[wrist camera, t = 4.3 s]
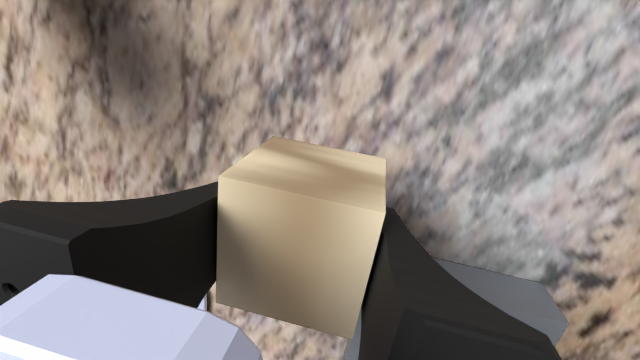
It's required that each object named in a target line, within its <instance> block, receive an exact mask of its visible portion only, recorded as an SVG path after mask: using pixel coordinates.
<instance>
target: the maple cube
mask: <svg viewBox="0 0 640 360" xmlns="http://www.w3.org/2000/svg"><path fill="white" fill-rule="evenodd" d="M385 214H386V159H385V158H380V157H375V156H370V155H365V154H360V153H355V152H350V151H345V150H340V149H335V148H330V147H325V146H320V145H315V144H311V143H306V142H301V141H296V140H291V139H286V138H281V137H276V136H273V137H271V138H270V139H269V140H267V141H266V142H264V143H263V144H262V145H260V146H259V147H258V148H256V149H255V150H253V151H252V152H251V153H249V154H248V155H247V156H245V157H244V158H242V159H241V160H240V161H238V162H237V163H236V164H234V165H233V166H231V167H230V168H229V169H227V170H226V171H225V172H223V173H222V174H220V175H219V176H218V219H217V273H216V303H220V304H223V305H227V306H231V307H234V308H238V309H241V310H245V311H249V312H252V313H256V314H260V315H263V316H267V317H271V318H274V319H278V320H282V321H285V322H289V323H292V324H296V325H300V326H303V327H307V328H311V329H314V330H318V331H322V332H325V333H329V334H333V335H336V336H340V337H344V338H347V339H351V340H352V339H353V335H354V331H355V328H356V324H357V320H358V316H359V312H360V309H361V305H362V301H363V297H364V294H365V290H366V286H367V282H368V278H369V275H370V271H371V267H372V263H373V259H374V256H375V252H376V248H377V244H378V240H379V237H380V233H381V229H382V225H383V221H384V218H385Z"/></svg>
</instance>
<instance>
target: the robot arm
mask: <svg viewBox="0 0 640 360" xmlns="http://www.w3.org/2000/svg"><path fill="white" fill-rule="evenodd" d="M217 219H218V182H214V183H211V184H207V185H204V186H200V187H196V188H192V189H188V190H184V191H180V192H175V193H171V194H165V195H160V196H153V197H147V198H139V199H128V200H117V201H104V202H42V201H19V200H9V201H5V202H2V203H0V360H263V359H262V355H261V352H260V350H259V349H258V347H257V346H256V345H255V344H254V343H253V342H252V341H251V339H250V338H249V337H248V336H247V335H246V334H245V333H244V332H243V331H242V330H241V328H240V327H239V326H237V325H235V324H233V323H231V322H229V321H227V320H225V319H223V318H221V317H219V316H217V315H215V314H213V313H211V312H208V311H207V292H208V291H209V289H210V288H211V287H212V285H213V284H214V283H215V281H216V273H217ZM358 360H562V359H561V357H560V356H559V354H558V352H557V351H556V349H555V347H554V345H553V344H552V342H551V340H550V339H549V337H548V336H547V335H546V334H544V333H542V332H540V331H539V330H537V329H535V328H533V327H531V326H529V325H527V324H526V323H524V322H522V321H520V320H518V319H516V318H514V317H513V316H511V315H509V314H507V313H505V312H504V311H502V310H501V309H499V308H497V307H496V306H494V305H493V304H491V303H489V302H488V301H486V300H485V299H483V298H482V297H480V296H479V295H477V294H476V293H474V292H473V291H472V290H470V289H469V288H467V287H466V286H465V285H464V284H462V283H461V282H460V281H458V280H457V279H456V278H454V277H453V276H452V275H451V274H450V273H448V272H447V271H446V270H445V269H444V268H443V267H442V266H441V265H440V264H438V263H437V262H436V261H435V260H434V259H433V258H432V257H431V256H430V255H429V254H428V253H427V252H426V251H425V249H424V248H423V247H422V246H421V245H420V244H419V243H418V241H417V240H416V239H415V238H414V237H413V235H412V234H411V233H410V231H409V230H408V229H407V227H406V226H405V225H404V223H403V222H402V220H401V219H400V217H399V216H398V214H397V213H396V211H395V210H394V209H393V208H388V207H386V214H385V218H384V221H383V225H382V229H381V233H380V237H379V240H378V244H377V248H376V252H375V256H374V259H373V263H372V267H371V271H370V275H369V278H368V282H367V286H366V290H365V294H364V297H363V301H362V305H361V338H360V347H359V356H358Z"/></svg>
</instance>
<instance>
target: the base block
mask: <svg viewBox="0 0 640 360" xmlns="http://www.w3.org/2000/svg"><path fill="white" fill-rule="evenodd" d="M433 259H434V260H435V261H436V262H437V263H438V264H440V265H441V266H442V267H443V268H444V269H445V270H446V271H447V272H448V273H450V274H451V275H452V276H453V277H454V278H456V279H457V280H458V281H460V282H461V283H462V284H464V285H465V286H466V287H467V288H469V289H470V290H472V291H473V292H474V293H476V294H477V295H479V296H480V297H482V298H483V299H485V300H486V301H488V302H489V303H491V304H493V305H494V306H496V307H497V308H499V309H501V310H502V311H504V312H505V313H507V314H509V315H511V316H513V317H514V318H516V319H518V320H520V321H522V322H524V323H526V324H527V325H529V326H531V327H533V328H535V329H537V330H539V331H540V332H542V333H544V334H546V335H547V336H548V337H549V339H550V340H551V342H552V344H553V345H554V347H555V345H556V344H557V342H558V340H559V339H560V337H561V336H562V334H563V333H564V331H565V329H566V328H567V326H568V325H569V323H568V321H567V320H566V318H565V317H564V315H563V314H562V312H561V311H560V309H559V308H558V307H557V305H556V304H555V302H554V301H553V299H552V298H551V296H550V295H549V293H548V292H547V290H546V289H545V287H544V286H543V284H542V283H538V282H534V281H530V280H525V279H521V278H517V277H513V276H508V275H504V274H500V273H496V272H492V271H487V270H483V269H479V268H475V267H470V266H466V265H462V264H458V263H453V262H449V261H445V260H441V259H436V258H433ZM360 338H361V309H360V312H359V316H358V320H357V324H356V328H355V331H354V335H353V339H352V340H351V339H348V340H347V344H346V348H345V352H344V358H343V360H358V356H359V347H360Z"/></svg>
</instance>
